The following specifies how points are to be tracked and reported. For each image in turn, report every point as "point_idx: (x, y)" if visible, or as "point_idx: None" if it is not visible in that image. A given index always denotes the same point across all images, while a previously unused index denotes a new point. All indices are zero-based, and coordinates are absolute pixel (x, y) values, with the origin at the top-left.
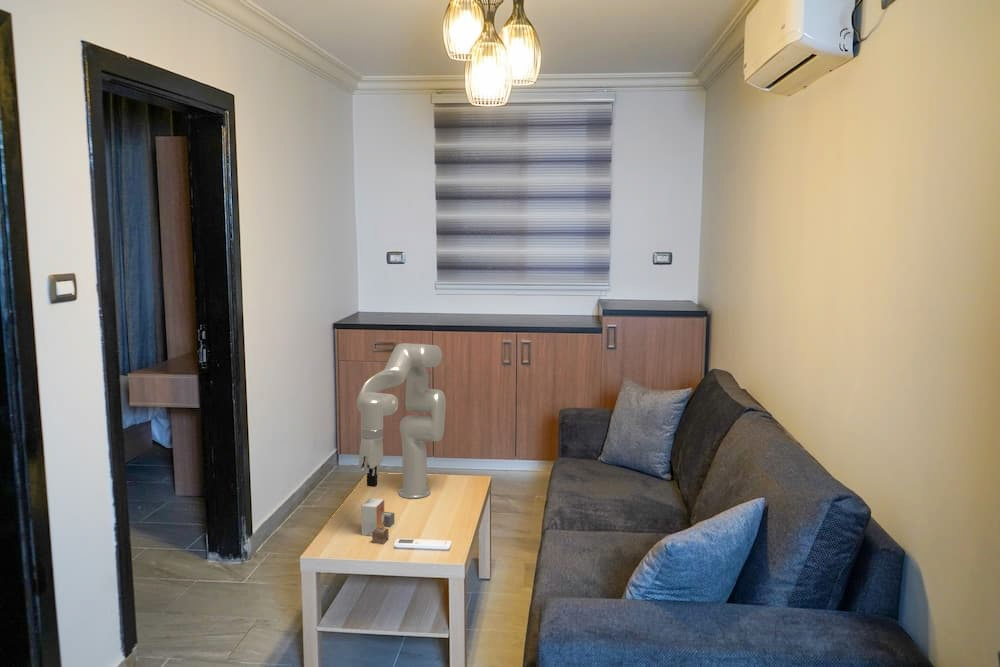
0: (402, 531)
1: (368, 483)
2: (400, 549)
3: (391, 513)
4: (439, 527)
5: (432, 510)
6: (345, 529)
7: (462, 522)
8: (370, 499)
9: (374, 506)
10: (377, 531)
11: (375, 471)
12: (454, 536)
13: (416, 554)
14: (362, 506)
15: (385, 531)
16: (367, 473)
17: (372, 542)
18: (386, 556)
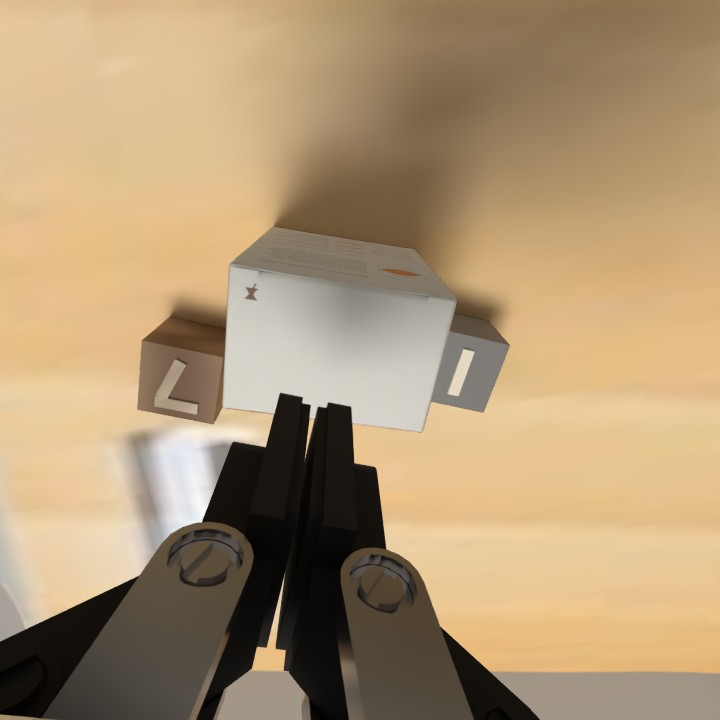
0: None
1: (231, 448)
2: (124, 465)
3: (473, 397)
4: None
5: (637, 528)
6: (359, 81)
7: (469, 646)
8: (419, 316)
9: (228, 391)
10: (154, 370)
11: (310, 715)
12: None
13: (90, 534)
14: (229, 275)
15: (169, 415)
16: (73, 622)
17: (169, 317)
18: (22, 419)
